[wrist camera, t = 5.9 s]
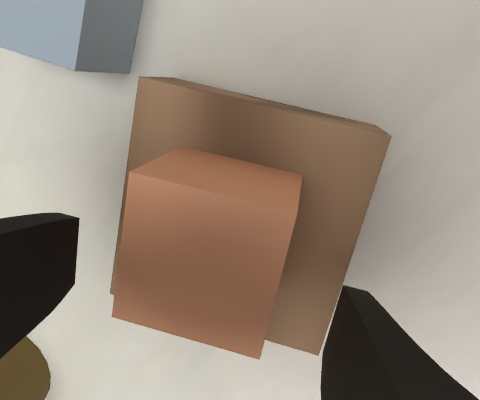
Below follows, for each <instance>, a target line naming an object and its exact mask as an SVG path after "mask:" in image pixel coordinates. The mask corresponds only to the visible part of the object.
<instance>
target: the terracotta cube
mask: <svg viewBox="0 0 480 400" xmlns="http://www.w3.org/2000/svg"><path fill="white" fill-rule="evenodd" d="M302 176H303V175H302V174H297V173H293V172H289V171H285V170H280V169H276V168H272V167H268V166H263V165H259V164H255V163H251V162H246V161H242V160H238V159H234V158H230V157H225V156H221V155H217V154H213V153H208V152H204V151H200V150H196V149H191V148H187V147H183V146H182V147H179V148H177V149H175V150H173V151H171V152H169V153H167V154H165V155H163V156H161V157H159V158H157V159H155V160H152V161H150V162H148V163H146V164H144V165H142V166H140V167H138V168H136V169H134V170H132V171H130V172H129V178H128V186H127V194H126V203H125V211H124V219H123V228H122V236H121V245H120V253H119V261H118V270H117V278H116V287H115V295H114V303H113V312H112V317H114V318H118V319H121V320H125V321H128V322H132V323H135V324H139V325H142V326H146V327H149V328H152V329H156V330H159V331H163V332H166V333H170V334H173V335H177V336H180V337H184V338H187V339H191V340H194V341H197V342H201V343H204V344H208V345H211V346H215V347H218V348H222V349H225V350H229V351H232V352H236V353H239V354H242V355H246V356H249V357H253V358H256V359H260V356H261V352H262V348H263V344H264V340H265V337H266V333H267V329H268V325H269V321H270V317H271V313H272V309H273V306H274V302H275V298H276V294H277V290H278V286H279V282H280V278H281V275H282V271H283V267H284V263H285V259H286V255H287V251H288V248H289V244H290V240H291V236H292V232H293V228H294V224H295V220H296V217H297V212H298V205H299V198H300V190H301V183H302Z"/></svg>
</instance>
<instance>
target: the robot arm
mask: <svg viewBox="0 0 480 400" xmlns="http://www.w3.org/2000/svg"><path fill="white" fill-rule="evenodd" d="M78 231H79V218H77V217H73V216H70V215H66V214H62V213H40V214H30V215H22V216H15V217H8V218H1V219H0V359H1V358H2V357H3V356H4V355H5V354H6V353H8V352H9V351H10V350H11V349H12V348H13V347H14V346H15V345H16V344H17V343H19V342H20V341H21V340H22V339H23V338H24V337H25V336H26V335H27V334H29V333H30V332H31V331H32V330H33V329H34V328H35V327H36V326H37V325H38V324H39V323H40V322H42V321H43V320H44V319H45V318H46V317H47V316H48V315H49V314H50V313H51V312H52V311H53V310H54V309H55V308H56V306H57V305H58V304H59V303H60V302H61V301H62V299H63V298H64V297H65V296H66V294H67V293H68V292H69V291H70V289H71V288H72V287H73V285H74V284H75V272H76V258H77V244H78ZM321 400H479V399H478V398H476V397H475V396H474V395H473V394H472V393H470V392H469V391H468V390H467V389H465V388H464V387H463V386H462V385H461V384H459V383H458V382H457V381H456V380H455V379H453V378H452V377H451V376H450V375H449V374H448V373H447V372H445V371H444V370H443V369H442V368H441V367H440V366H439V365H438V364H437V363H436V362H435V361H434V360H433V359H432V358H431V357H430V356H429V355H427V354H426V353H425V352H424V351H423V350H422V349H421V348H420V347H419V346H418V345H417V344H416V343H415V342H414V341H413V340H412V338H411V337H410V336H409V335H408V334H407V333H406V332H405V331H404V330H403V329H402V328H401V327H400V326H399V325H398V323H397V322H396V321H395V320H394V319H393V318H392V317H391V316H390V315H389V313H388V312H387V311H386V310H385V309H384V308H383V307H382V306H381V305H380V303H379V302H378V301H377V300H376V299H375V298H374V297H373V296H372V295H371V294H370V293H369V292H368V291H364V290H360V289H356V288H352V287H348V286H344V285H343V287H342V290H341V294H340V297H339V300H338V304H337V307H336V310H335V314H334V317H333V320H332V324H331V327H330V330H329V334H328V337H327V340H326V343H325V347H324V350H323V357H322V371H321Z"/></svg>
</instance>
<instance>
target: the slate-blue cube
mask: <svg viewBox="0 0 480 400" xmlns="http://www.w3.org/2000/svg"><path fill="white" fill-rule="evenodd" d="M142 5H143V0H0V47H1V48H4V49H7V50H10V51H14V52H17V53H20V54H23V55H26V56H29V57H32V58H36V59H39V60H42V61H45V62H48V63H51V64H54V65H57V66H61V67H64V68H67V69H70V70H73V71H85V72H107V73H129V72H130V67H131V62H132V57H133V52H134V46H135V41H136V36H137V31H138V26H139V20H140V15H141V10H142Z"/></svg>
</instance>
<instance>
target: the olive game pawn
mask: <svg viewBox="0 0 480 400" xmlns="http://www.w3.org/2000/svg"><path fill="white" fill-rule="evenodd" d="M49 389H50V373H49V369H48V365H47V362H46V360H45V359H44V357H43V355H42V354H41V352H40V350H39V349H38V348H37V347H36V346H35V345H34V344H33V343H32V342H31V341H30V340H29V339H28V338H27V337H26V336H25V337H24V338H23V339H22V340H21V341H20V342H19V343H17V344H16V345H15V346H14V347H13V348H12V349H11V350H10V351H9V352H8V353H6V354H5V355H4V356H3V357H2V358H1V359H0V400H44V399H45V397H46V395H47V393H48V391H49Z"/></svg>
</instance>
